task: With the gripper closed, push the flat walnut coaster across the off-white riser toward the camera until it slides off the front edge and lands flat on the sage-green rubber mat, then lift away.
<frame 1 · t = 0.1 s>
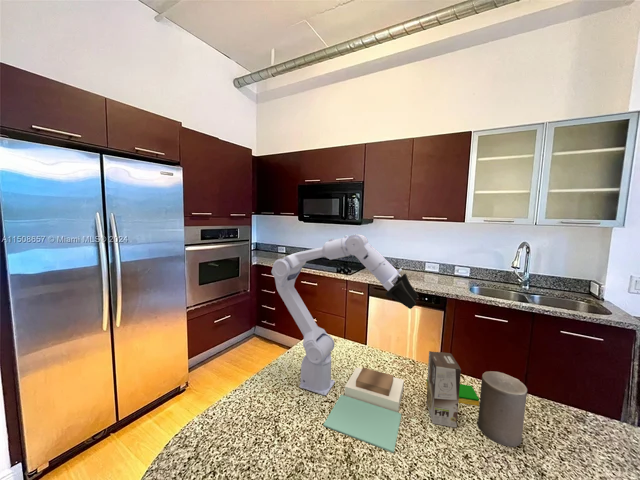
hand: (414, 302, 72), 32 cm above the countertop, tool tilted 50°, fingers open, 7 cm apart
riser: (374, 392, 83), on the countertop
coffee box: (440, 414, 75), on the countertop
sage mat: (363, 420, 71), on the countertop
pillar candle: (499, 432, 69), on the countertop
walnut coaster: (374, 383, 83), point 3 cm above the countertop, touching riser
dish sponge: (450, 396, 83), on the countertop
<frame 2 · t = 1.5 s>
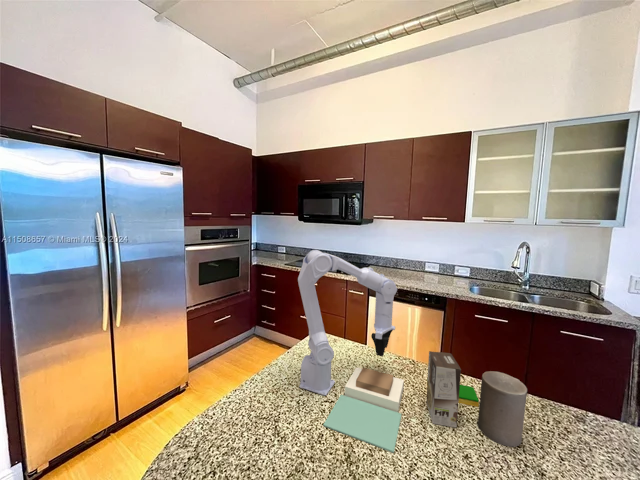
hand: (381, 351, 91), 9 cm above the countertop, tool pointing down, fingers open, 6 cm apart
nothing on the countertop moved.
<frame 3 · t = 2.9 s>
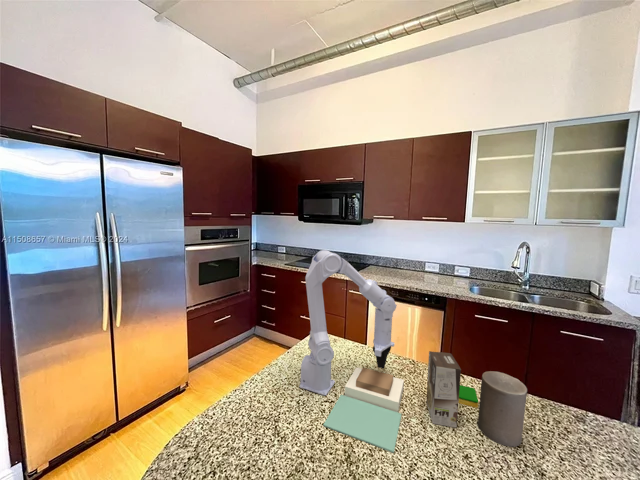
hand: (381, 366, 91), 4 cm above the countertop, tool pointing down, fingers closed
nothing on the countertop moved.
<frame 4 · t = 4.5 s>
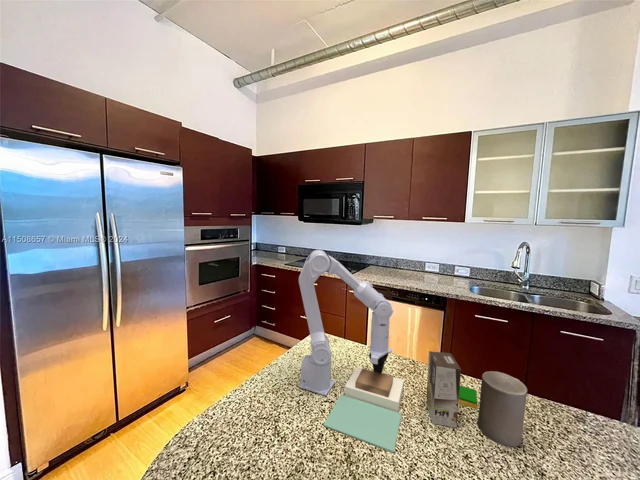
hand: (377, 374, 87), 4 cm above the countertop, tool pointing down, fingers closed
walnut coaster: (374, 385, 82), point 3 cm above the countertop, touching gripper, riser
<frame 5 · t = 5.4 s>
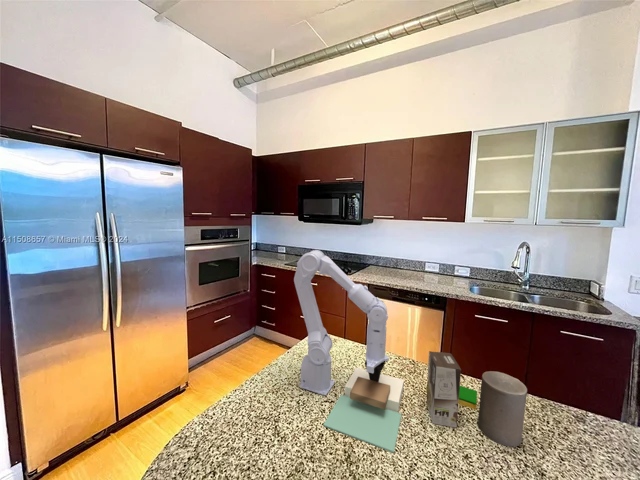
hand: (374, 383, 82), 4 cm above the countertop, tool pointing down, fingers closed
walnut coaster: (370, 395, 77), point 3 cm above the countertop, touching gripper, riser
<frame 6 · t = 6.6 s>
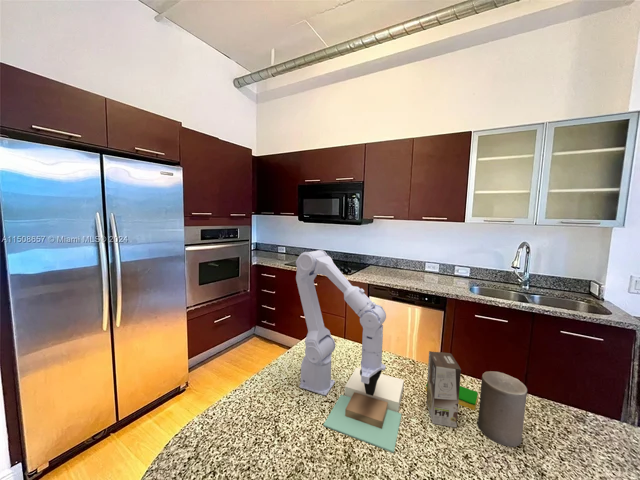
hand: (370, 393, 77), 4 cm above the countertop, tool pointing down, fingers closed
walnut coaster: (366, 412, 74), resting on sage mat
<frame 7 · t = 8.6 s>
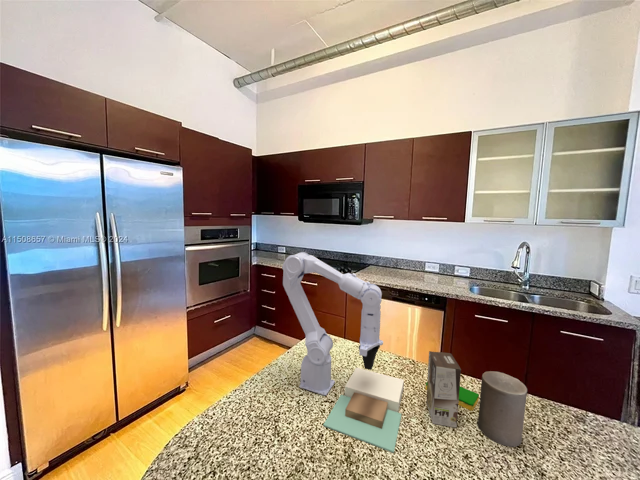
hand: (368, 368, 81), 9 cm above the countertop, tool pointing down, fingers closed
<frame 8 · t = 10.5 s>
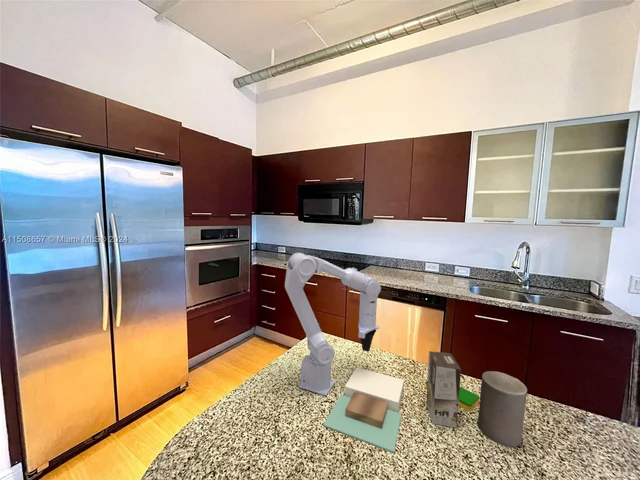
hand: (366, 350, 91), 9 cm above the countertop, tool pointing down, fingers closed
at the end: walnut coaster inside the target area on the sage mat (3.1 cm from its centre), point 0.4 cm above the sage mat's base; walnut coaster resting on sage mat; walnut coaster tilted 0° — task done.
